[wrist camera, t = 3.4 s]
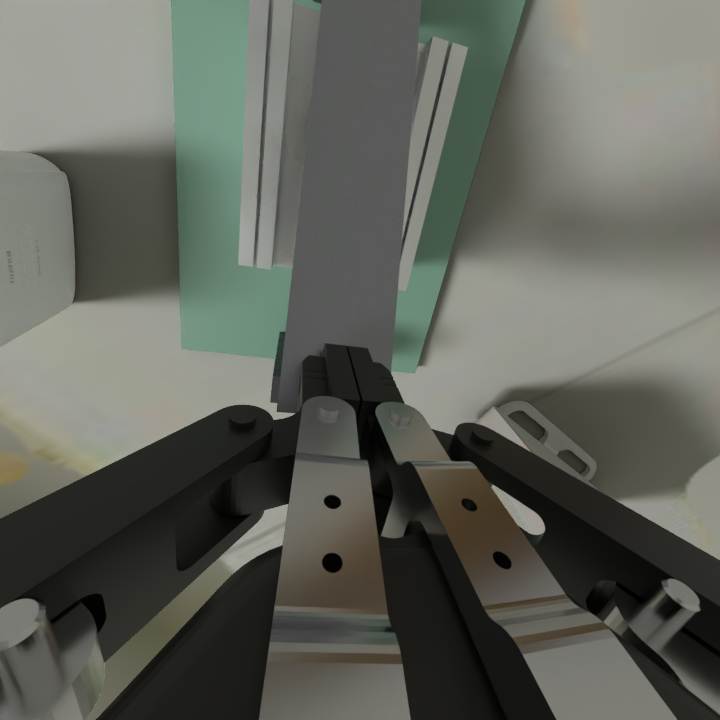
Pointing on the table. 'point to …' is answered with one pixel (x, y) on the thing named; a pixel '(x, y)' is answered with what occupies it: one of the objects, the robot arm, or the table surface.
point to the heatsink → (290, 125)
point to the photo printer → (33, 243)
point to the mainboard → (224, 174)
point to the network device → (536, 451)
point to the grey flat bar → (352, 185)
